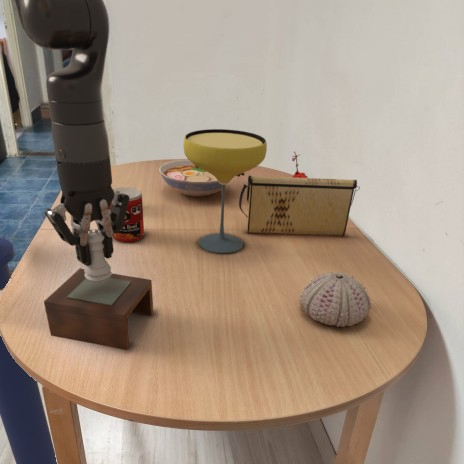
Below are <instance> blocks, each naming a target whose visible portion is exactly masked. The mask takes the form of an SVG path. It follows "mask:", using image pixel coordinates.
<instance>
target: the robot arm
mask: <svg viewBox="0 0 464 464" xmlns="http://www.w3.org/2000/svg"><path fill="white" fill-rule="evenodd" d="M13 3H14V6H15V9H16V13H17V17H18V20H19V24H20V26H21V29H22V31H23V33H24V35H26V37H27V38H28V39H29V40H30V41H31V42H32V43H33V44H35V45H36V46H38V47H39V48H41V49H44V50H47V51H72V53H71V57H70V59H69V60H70V61H69V63H68V65H67V66H65V67H63V68H61V69H58V70H55V71H53V72H51V73H50V74H48V75H47V76H46V81H45V83H46V84H45V89H46V95H47V99H48V100H47V101H48V108H49V114H50V119H51V137H52V138H51V139H52V146H53V150H54V151H53V152H54V157H55V164H56V171H57V176H58V183H59V186H60V189H61V197H60V200H59V201H60V203H59V204H58V205H57V206H55V207H53V208H52V209H51V208H47V209H45V211H44V215H45V216H46V218H47V220H48V221H49V222H50V224H51V226H52V227H53V229H54V230H55V232H56V233H57V235H58V236H59V238H60V239H61V240H62V241H63V242H65V243H67V244H68V245H69V246H72V247H75V255H76V258H77V261H78V262H80V263H81V264H82V265H84V266H89V265H91V256H90V249H89V245H88V244H87V240H88V233H89V231H90V230H91V223H92V222H95V224H96V228H97V230H98V232H99V231H101V234H102V235H103V236H104V240H103V241H102V244H103V245H104V247H103V253H104V257H105V259H107V260H109V259H110V258H112V257H113V254H114V242H113V241H114V239H113V237H114V236H113V234H114V232H116V231H120V230H121V229H122V227H123V223H124V218H125V214H126V210H127V206H128V202H129V196H128V195H126V194H124V193H121V192H119V191H116V192H114V189H113V187H112V184H113V175H112V165H111V153H110V145H109V143H110V142H109V135H108V131H107V126H106V121H105V112H104V111H105V110H104V102H103V92H102V89H103V88H102V87H103V80H104V73H105V66H106V65H105V64H106V59H107V52H108V45H109V38H110V18H109V14H108V9H107V7H106V4H105V2H104V0H13ZM111 202H112V206H111V210H110V205H111ZM66 212H67V213H68V214H69V215H70V226H71V228H72V229H70V227H69V225H68V224H67V222H66V221H67V216H66Z"/></svg>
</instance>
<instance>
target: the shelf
mask: <svg viewBox="0 0 464 464" xmlns="http://www.w3.org/2000/svg"><path fill="white" fill-rule="evenodd" d="M84 269H85V268H79V269H77V270H76V271H75V272H74V273H73V274H72V275H71V276H70V277H68V279H67V280H65V281H64V282H63V283H62V284H60V286H59V287H57V288H56V290H55V291H53V292H52V293H51V294H49V296H48V297H47V298H46V299H45V300H44V301H43V305H44V309H45V314H46V319H47V323H48V328H49V333H50V336H51V337H56V338H62V339H67V340H72V341H77V342H83V343H88V344H94V345H99V346H104V347H109V348H114V349H120V350H125V351H128V350H129V348H130V347H131V343H130V330H129V329H130V328H129V320H128V317H130V315H131V314H132V313H136V314H142V315H147V316H152V315H153V314H154V300H153V298H154V297H153V285H152V284H153V282H152V281H153V280H152V279H149V278H143V277H137V276H130V275H125V274H119V273H113V272H112V275H111V276H110V278H109V279H108V280H106V281H102V282H91V281H89V280H88V279H86V277H85V276H84V275H85V272H84Z"/></svg>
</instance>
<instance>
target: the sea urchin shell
mask: <svg viewBox="0 0 464 464" xmlns="http://www.w3.org/2000/svg"><path fill="white" fill-rule="evenodd" d="M299 297H300V298H299V301H300V306H301V308H302V311H303V312H304V313H305V314H306V315H307V316H309V317H310V318H311V319H313V320H315V322H319V323H321V324H324V325H325V326H336V327H337V328H339V327H341V328H345V327H346V326H348V327H351V326H354V325H355V324H356V325H357V324H359V323H360V322H362V321H363V320H364V319H365V318H366V317H367V315H368V313H370V310H371V309H372V302H371V301H372V299H371V298H370V296H369V294H368V290H366V287H365V286H363V283H360V282H359V280H357V279H356V278H355V277H354V275H350V274H348V273H345V272H323V273H321V274H319V275H317V276H315V277H314V278H313V279H311V280H310V281H309V282H308V283H307V284H306V286H305V287H303V290H302V291H301V294H300V295H299Z"/></svg>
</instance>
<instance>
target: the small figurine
mask: <svg viewBox="0 0 464 464" xmlns="http://www.w3.org/2000/svg"><path fill="white" fill-rule="evenodd" d="M293 153H294V155H292V159H291V160H292V162H295V168H296V171H295V172H294V175H292V176H291V177H292V178H309V177H308V175H306V173H305V172H300V171H299V164H298V157H299V156H300V154H297V153H296V151H293Z"/></svg>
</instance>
